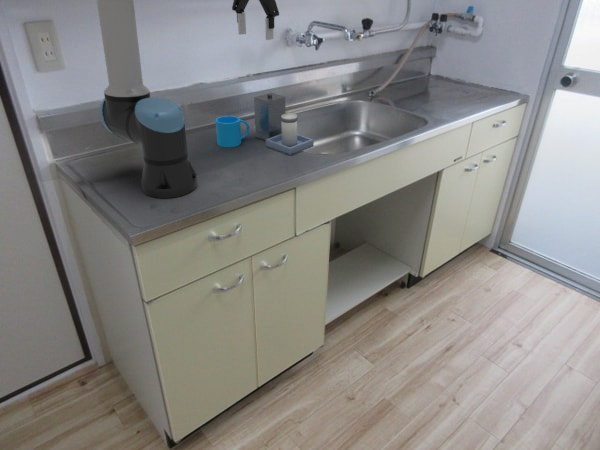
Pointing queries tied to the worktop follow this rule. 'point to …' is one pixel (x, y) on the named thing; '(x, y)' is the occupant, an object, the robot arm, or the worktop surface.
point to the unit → (268, 115)
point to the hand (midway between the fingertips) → (255, 36)
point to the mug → (229, 131)
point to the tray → (277, 145)
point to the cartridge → (289, 129)
